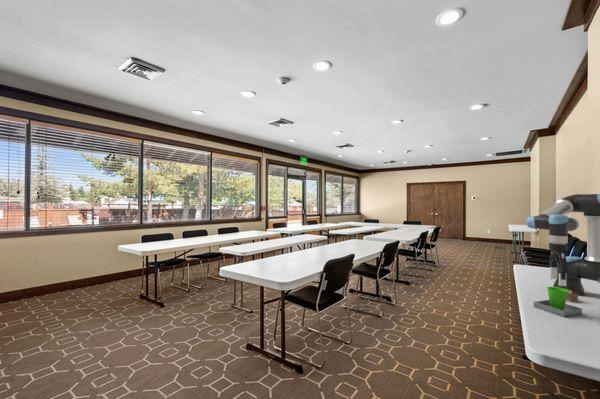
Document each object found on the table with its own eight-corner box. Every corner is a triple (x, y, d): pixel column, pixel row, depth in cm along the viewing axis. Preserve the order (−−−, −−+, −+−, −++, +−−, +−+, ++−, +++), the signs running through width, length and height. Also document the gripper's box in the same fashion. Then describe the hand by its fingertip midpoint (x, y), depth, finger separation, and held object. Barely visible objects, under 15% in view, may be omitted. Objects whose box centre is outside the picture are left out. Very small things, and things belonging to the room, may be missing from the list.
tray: (550, 304, 161) (550, 299, 161) (582, 314, 148) (582, 308, 148) (533, 307, 157) (533, 301, 157) (564, 317, 143) (564, 311, 143)
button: (565, 293, 174) (565, 288, 174) (573, 295, 169) (573, 290, 169) (560, 293, 172) (560, 288, 172) (569, 296, 168) (569, 291, 168)
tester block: (563, 297, 175) (563, 290, 175) (577, 300, 169) (577, 294, 169) (556, 298, 173) (556, 291, 173) (570, 302, 166) (570, 295, 166)
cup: (573, 313, 147) (573, 292, 147) (553, 311, 149) (553, 290, 149) (560, 307, 156) (561, 287, 156) (542, 305, 158) (542, 285, 158)
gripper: (542, 239, 165) (541, 275, 165) (557, 246, 143) (557, 287, 143) (558, 240, 162) (558, 277, 162) (577, 247, 140) (576, 289, 140)
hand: (557, 282), depth 153 cm, fingers open, 13 cm apart
